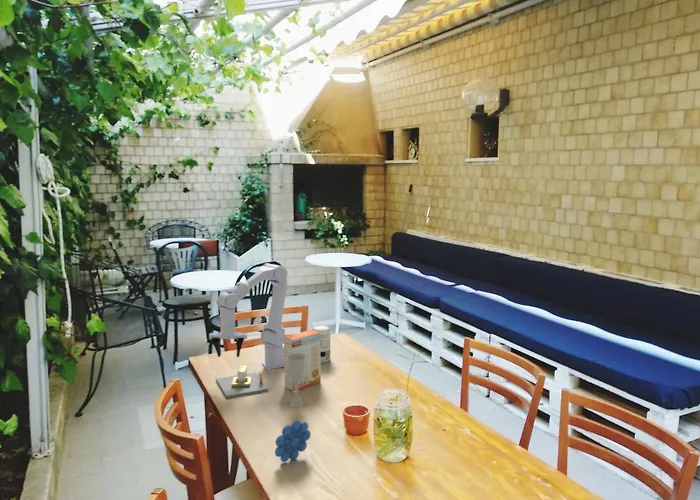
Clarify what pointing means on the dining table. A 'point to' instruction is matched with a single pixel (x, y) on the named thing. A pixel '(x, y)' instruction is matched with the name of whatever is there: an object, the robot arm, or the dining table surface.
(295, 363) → the chalice
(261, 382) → the post board
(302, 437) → the grapes
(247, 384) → the yellow frame with handle
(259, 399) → the dining table surface
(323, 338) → the supplement can
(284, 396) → the dining table surface
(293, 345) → the cracker box
